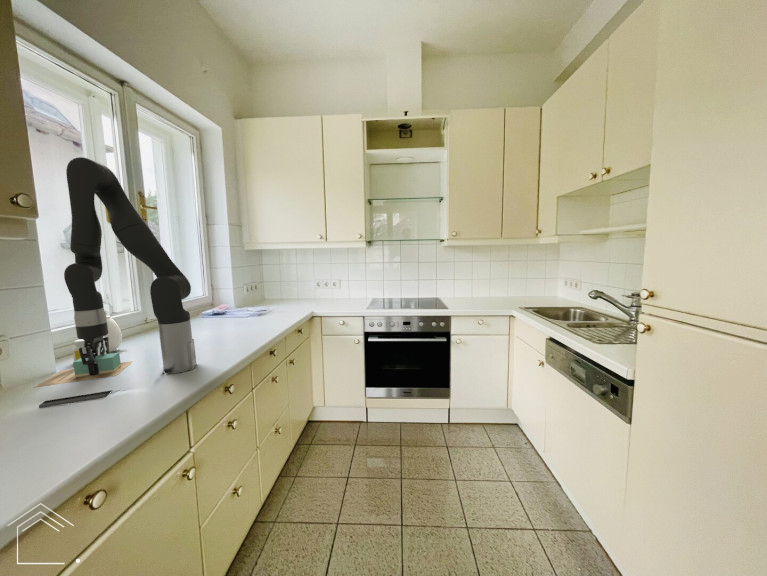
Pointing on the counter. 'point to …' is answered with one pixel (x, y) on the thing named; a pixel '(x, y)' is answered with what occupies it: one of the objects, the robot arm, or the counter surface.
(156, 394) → the counter surface
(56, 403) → the rubber mat
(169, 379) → the counter surface
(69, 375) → the board
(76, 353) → the supplement bottle
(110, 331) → the white vase
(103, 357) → the block
